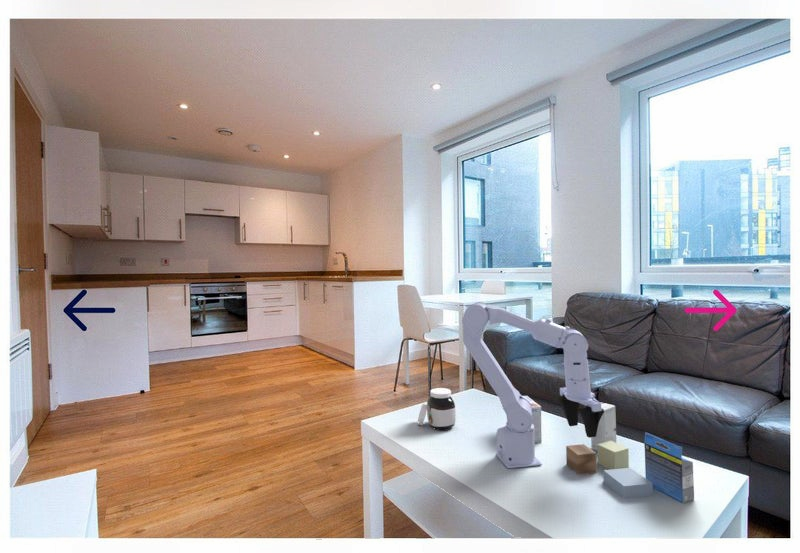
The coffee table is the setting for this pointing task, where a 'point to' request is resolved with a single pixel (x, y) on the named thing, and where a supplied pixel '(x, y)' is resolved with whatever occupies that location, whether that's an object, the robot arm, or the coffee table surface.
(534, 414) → the light bulb box
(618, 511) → the coffee table surface
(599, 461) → the olive cube
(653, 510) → the coffee table surface
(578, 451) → the walnut cube
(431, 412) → the spread jar
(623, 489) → the base slab
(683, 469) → the label tape box
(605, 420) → the skincare box
